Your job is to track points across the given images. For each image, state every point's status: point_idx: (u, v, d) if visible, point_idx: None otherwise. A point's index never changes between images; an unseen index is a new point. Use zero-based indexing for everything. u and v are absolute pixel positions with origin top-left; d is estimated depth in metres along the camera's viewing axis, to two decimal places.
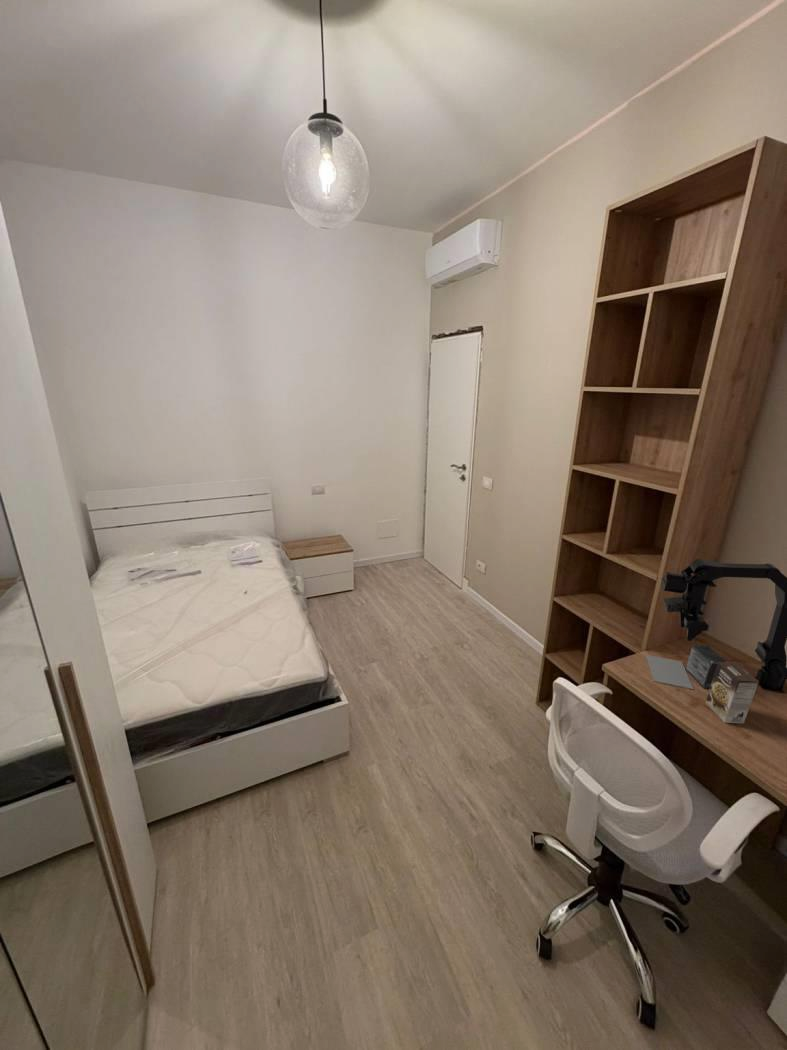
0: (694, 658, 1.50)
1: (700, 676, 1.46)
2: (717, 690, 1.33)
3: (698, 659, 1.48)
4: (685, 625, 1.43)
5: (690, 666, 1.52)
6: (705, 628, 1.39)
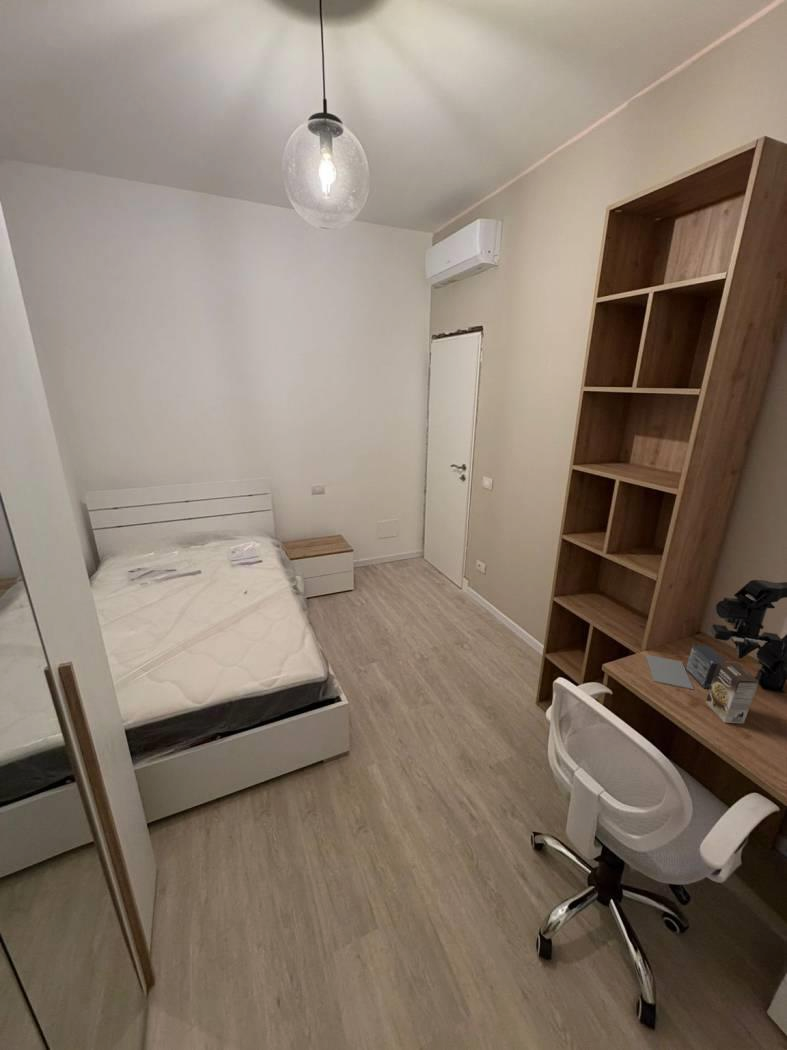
0: (694, 658, 1.50)
1: (700, 676, 1.46)
2: (717, 690, 1.33)
3: (698, 659, 1.48)
4: None
5: (690, 666, 1.52)
6: (714, 635, 1.42)
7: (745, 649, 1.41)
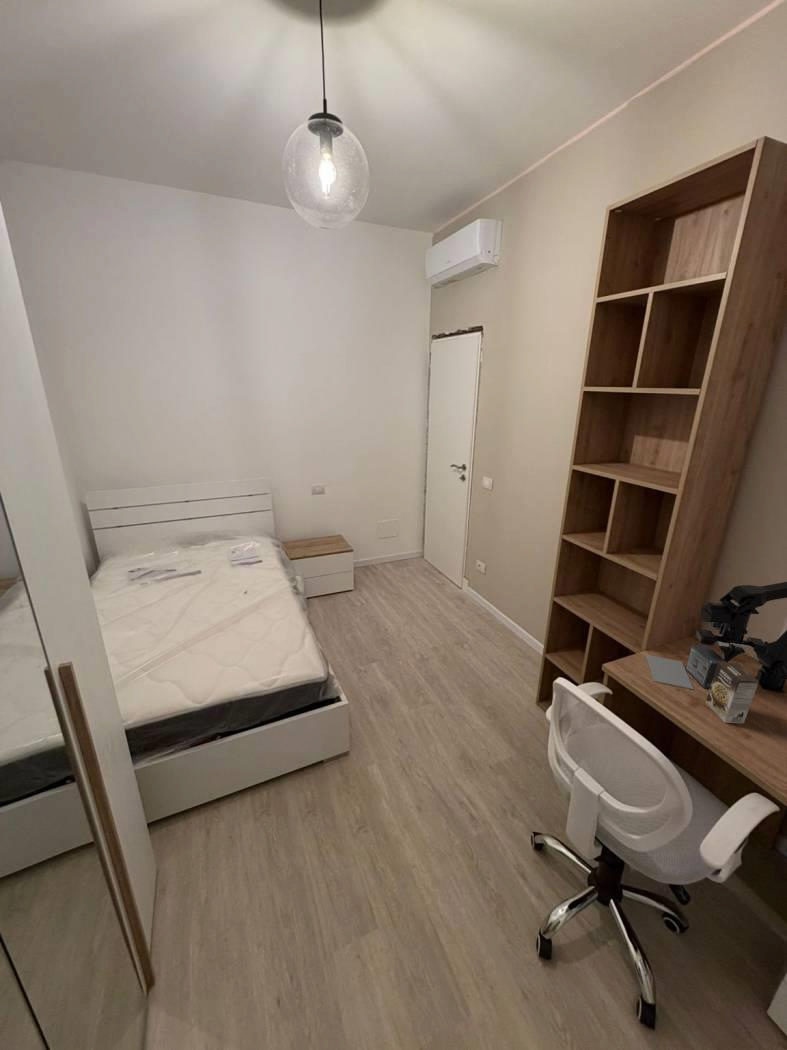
0: (694, 658, 1.50)
1: (700, 676, 1.46)
2: (717, 690, 1.33)
3: (698, 659, 1.48)
4: None
5: (690, 666, 1.52)
6: (700, 639, 1.44)
7: (730, 654, 1.43)
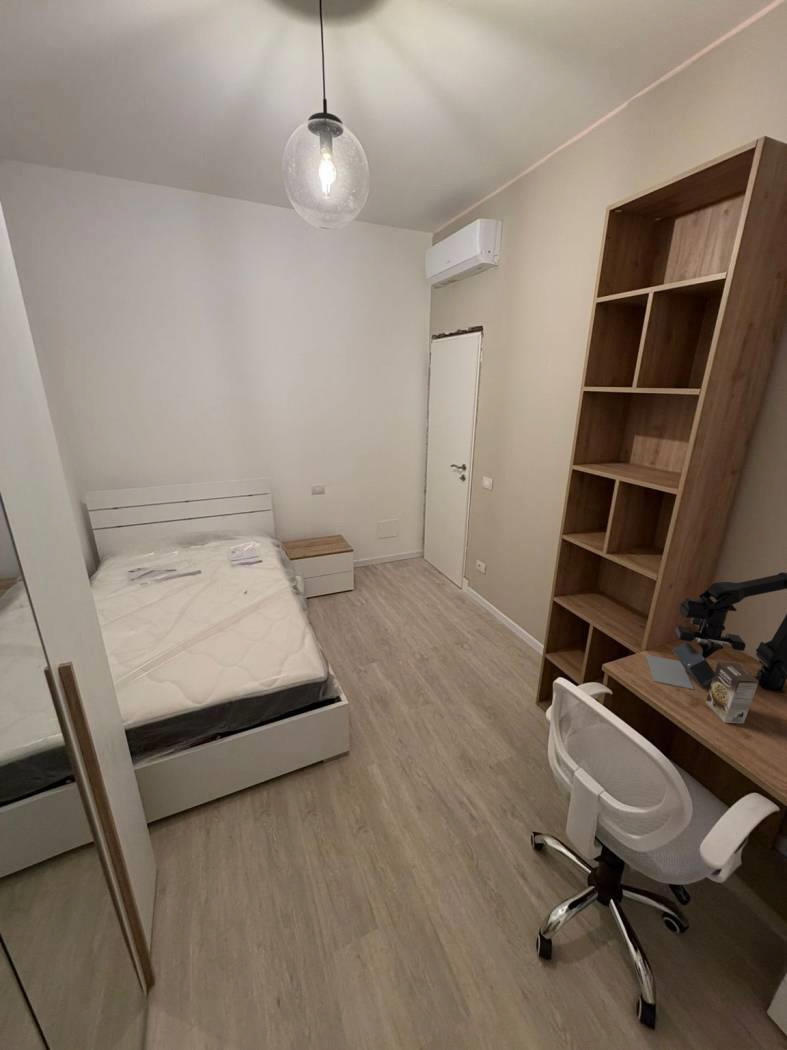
0: (680, 661, 1.50)
1: (694, 677, 1.47)
2: (717, 690, 1.33)
3: (682, 662, 1.48)
4: None
5: (684, 667, 1.52)
6: (679, 636, 1.46)
7: (708, 650, 1.45)
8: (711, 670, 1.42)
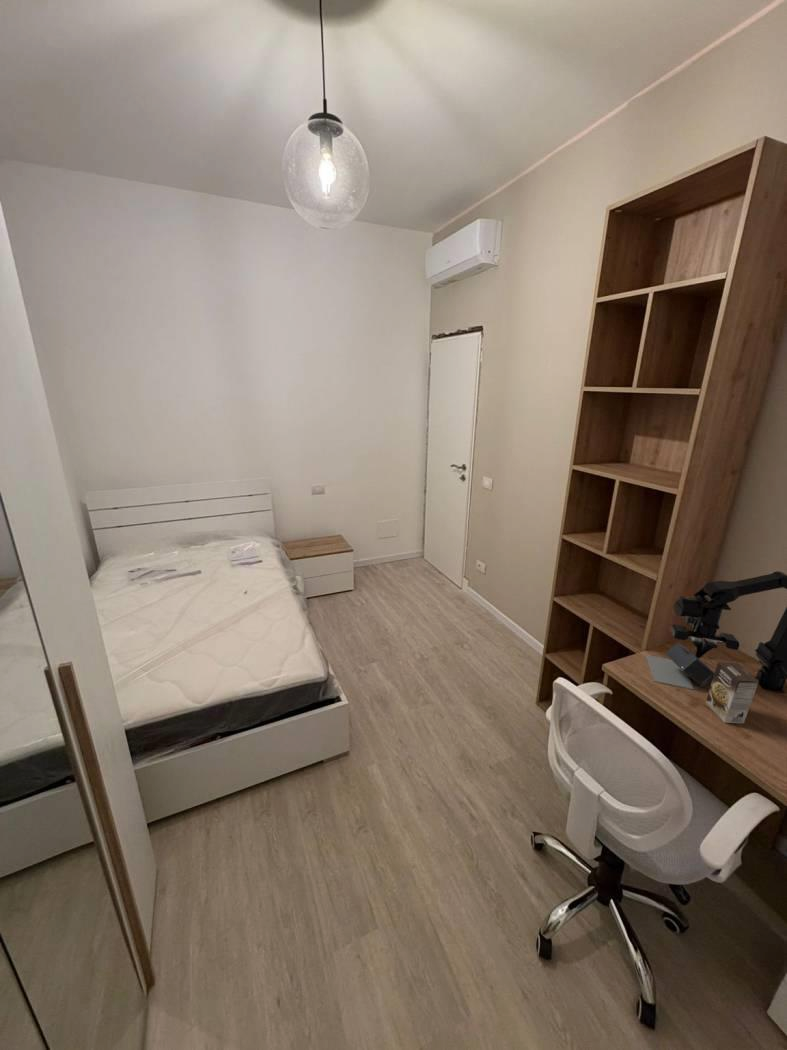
0: None
1: None
2: (717, 690, 1.33)
3: None
4: None
5: None
6: (674, 634, 1.46)
7: (703, 649, 1.45)
8: (706, 669, 1.43)
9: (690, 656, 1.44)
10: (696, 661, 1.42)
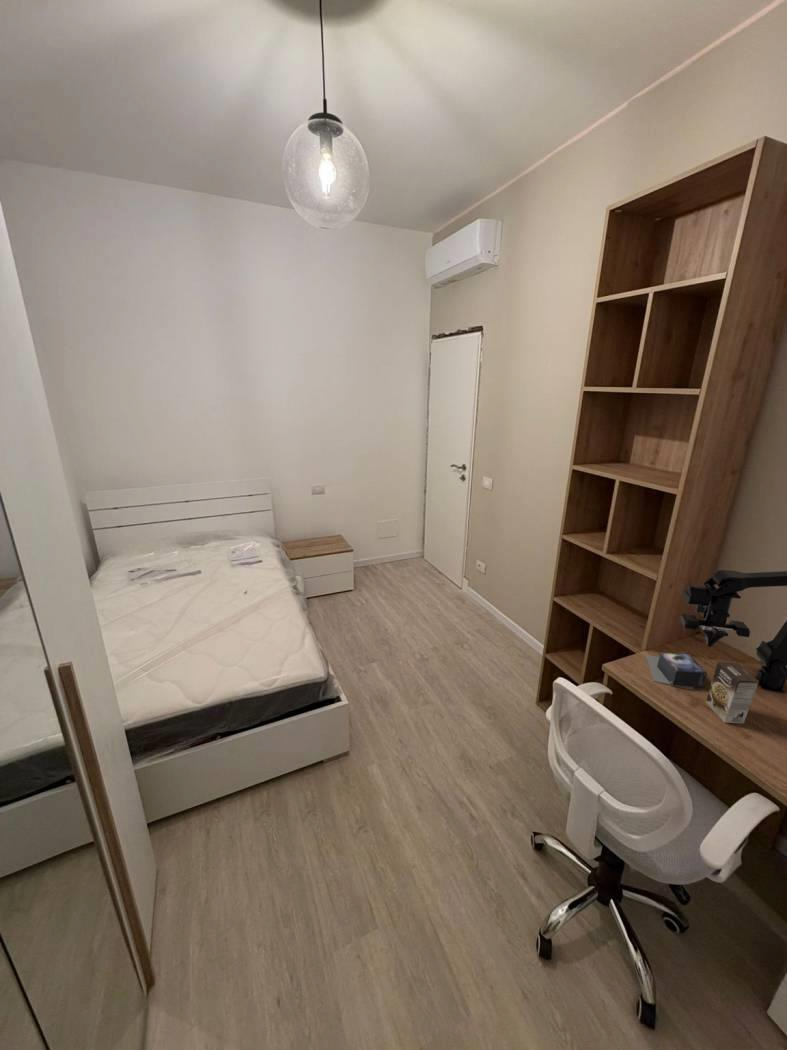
0: None
1: None
2: (717, 690, 1.33)
3: None
4: None
5: None
6: (684, 624, 1.46)
7: (713, 637, 1.45)
8: (692, 673, 1.43)
9: (672, 668, 1.46)
10: (678, 672, 1.44)
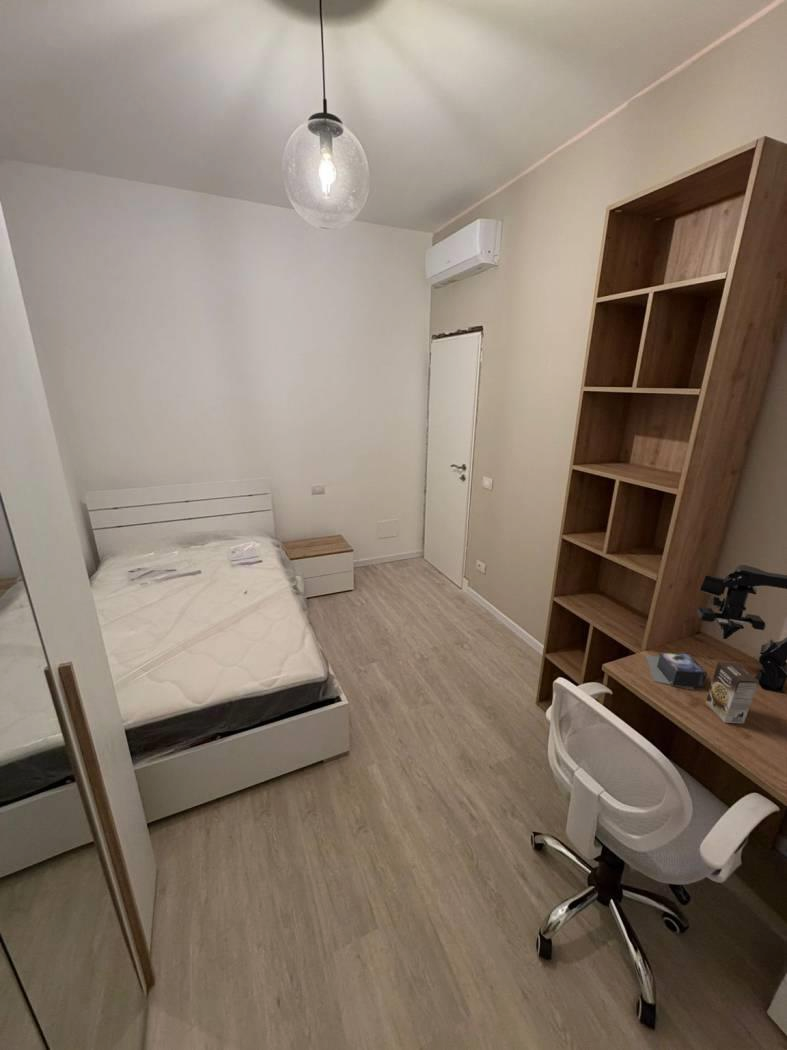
0: None
1: None
2: (717, 690, 1.33)
3: None
4: None
5: None
6: (700, 616, 1.51)
7: (729, 630, 1.50)
8: (692, 673, 1.43)
9: (672, 668, 1.46)
10: (678, 672, 1.44)
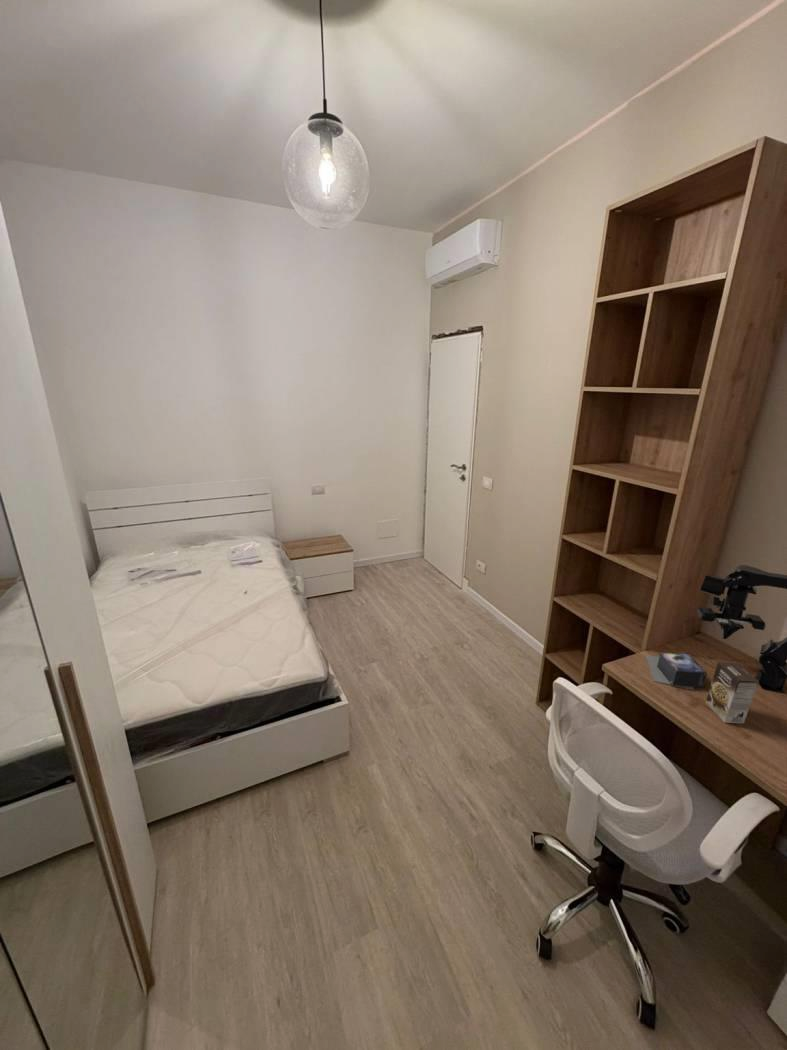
0: None
1: None
2: (717, 690, 1.33)
3: None
4: None
5: None
6: (701, 616, 1.51)
7: (729, 630, 1.50)
8: (692, 673, 1.43)
9: (672, 668, 1.46)
10: (678, 672, 1.44)
